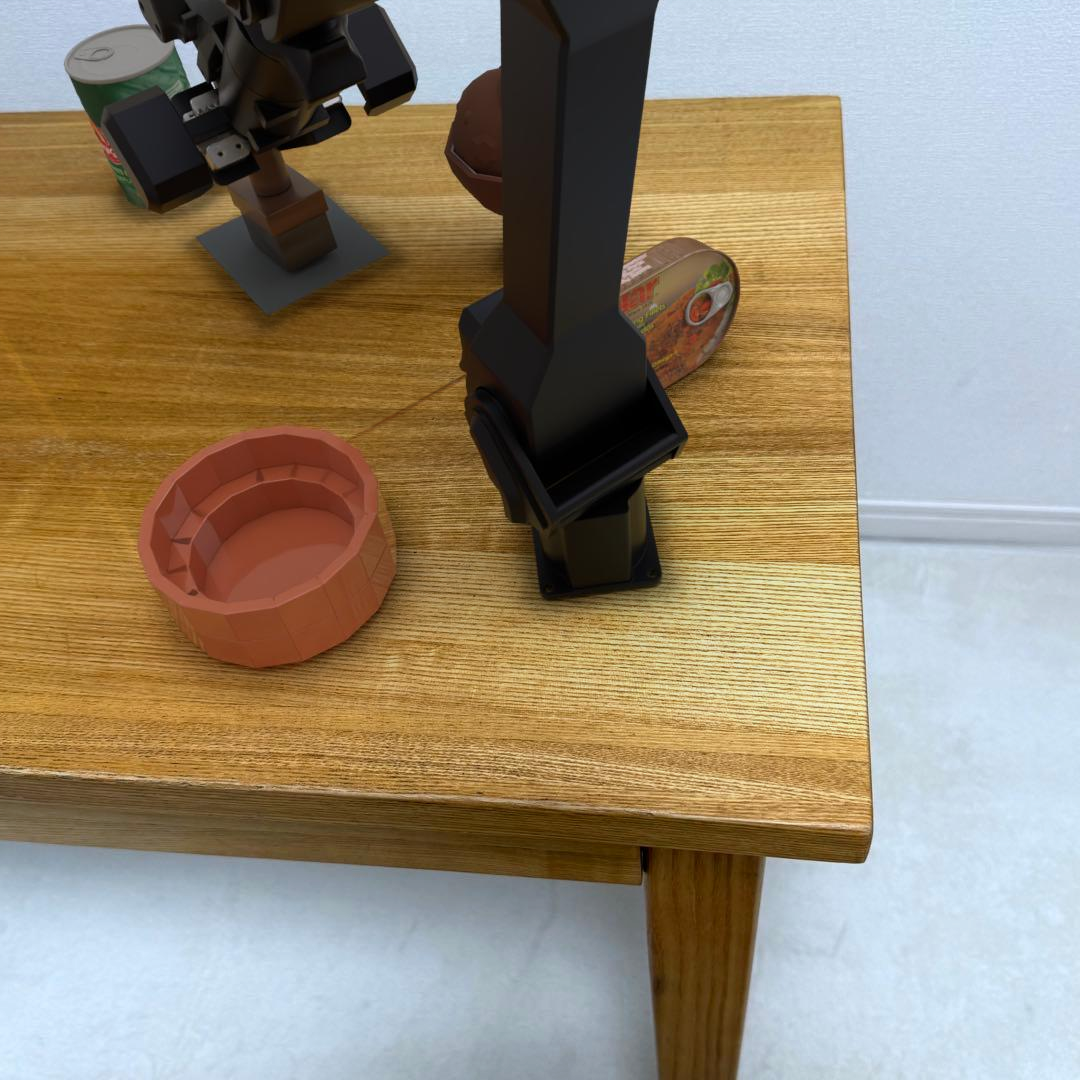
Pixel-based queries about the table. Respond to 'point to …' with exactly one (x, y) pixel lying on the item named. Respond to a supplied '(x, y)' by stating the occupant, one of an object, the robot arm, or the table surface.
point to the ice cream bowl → (479, 140)
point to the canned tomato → (122, 78)
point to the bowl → (269, 545)
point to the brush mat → (273, 281)
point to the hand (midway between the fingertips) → (253, 152)
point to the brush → (283, 211)
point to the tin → (680, 303)
